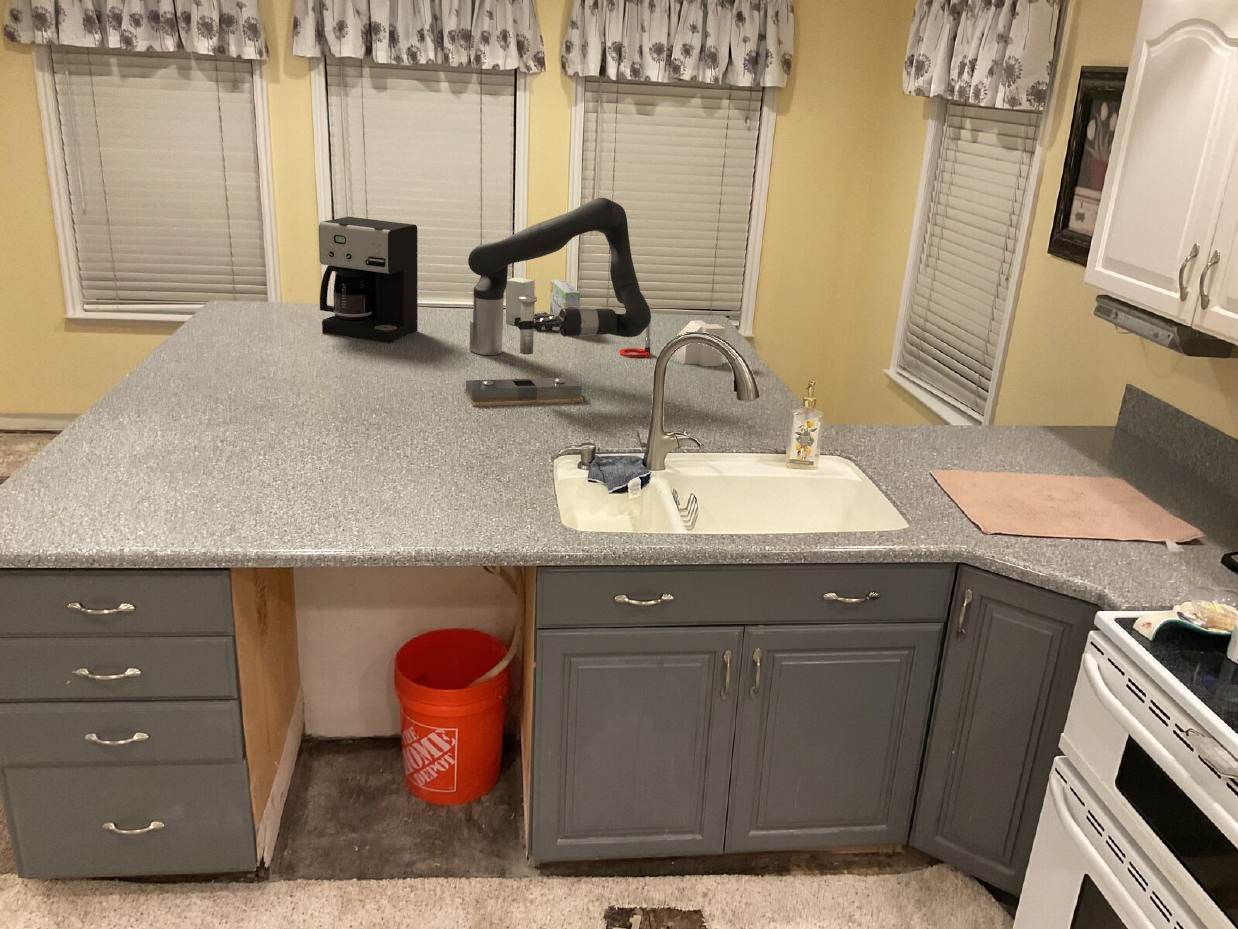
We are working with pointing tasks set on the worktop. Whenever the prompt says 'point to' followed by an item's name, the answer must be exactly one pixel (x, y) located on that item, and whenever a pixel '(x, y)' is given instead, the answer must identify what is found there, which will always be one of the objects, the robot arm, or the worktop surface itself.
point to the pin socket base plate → (523, 391)
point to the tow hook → (643, 352)
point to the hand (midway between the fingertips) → (516, 323)
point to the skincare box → (517, 296)
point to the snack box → (563, 296)
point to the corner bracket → (700, 346)
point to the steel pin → (527, 315)
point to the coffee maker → (369, 278)
